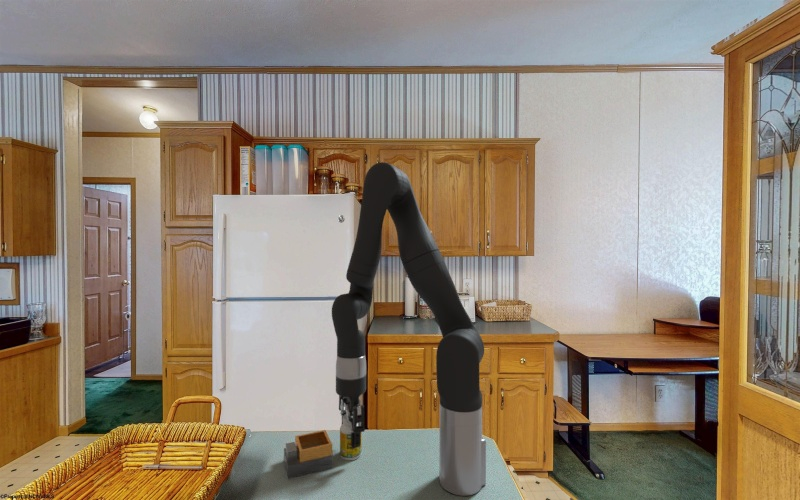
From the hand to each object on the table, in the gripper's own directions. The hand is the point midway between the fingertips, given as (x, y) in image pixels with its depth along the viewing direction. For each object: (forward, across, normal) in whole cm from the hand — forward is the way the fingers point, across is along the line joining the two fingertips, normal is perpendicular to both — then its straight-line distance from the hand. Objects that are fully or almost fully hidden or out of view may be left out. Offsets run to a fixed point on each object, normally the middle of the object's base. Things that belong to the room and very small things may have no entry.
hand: (350, 438), depth 89 cm
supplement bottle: (+4, 0, 0) cm, 4 cm away
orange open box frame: (+4, 0, +10) cm, 11 cm away
